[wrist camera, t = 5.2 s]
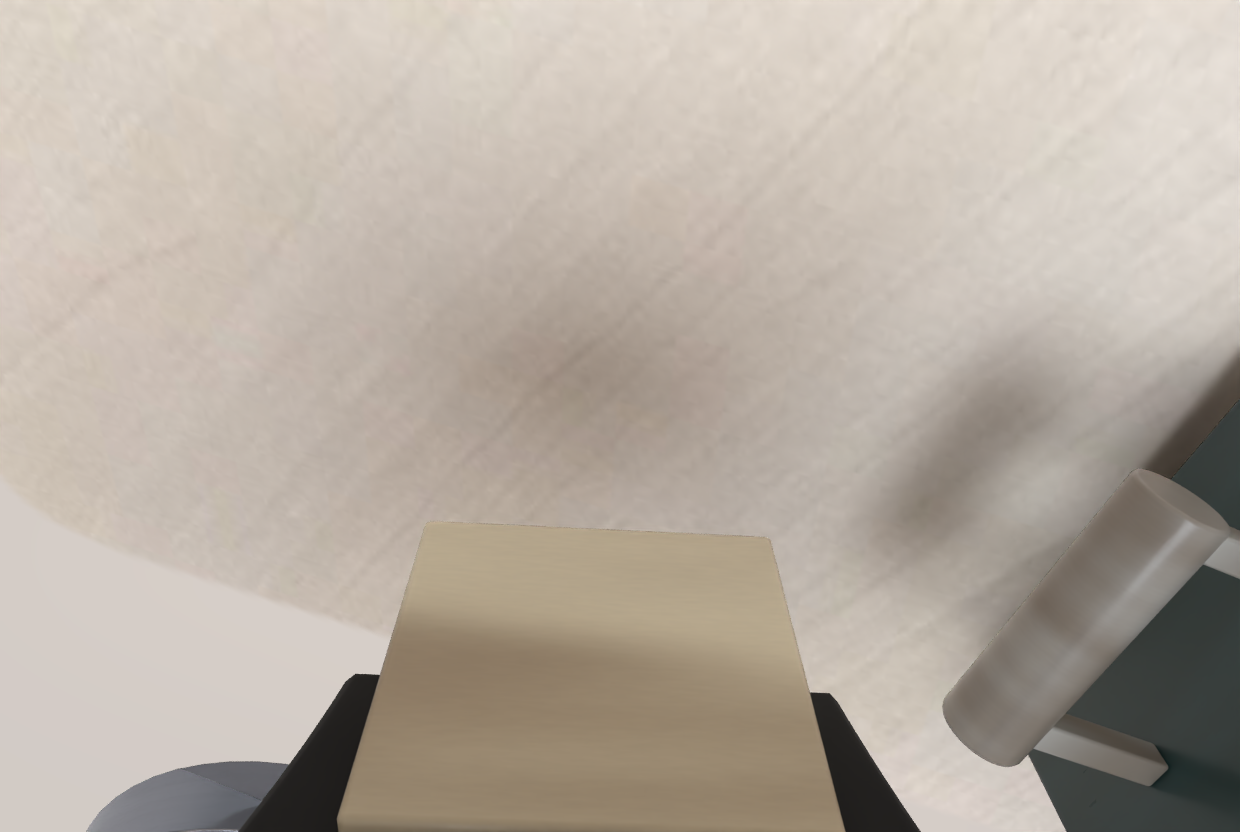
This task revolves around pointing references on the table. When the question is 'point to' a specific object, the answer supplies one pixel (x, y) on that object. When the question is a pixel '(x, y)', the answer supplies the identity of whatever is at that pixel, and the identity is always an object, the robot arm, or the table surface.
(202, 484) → the table surface
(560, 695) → the block
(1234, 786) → the drawer
